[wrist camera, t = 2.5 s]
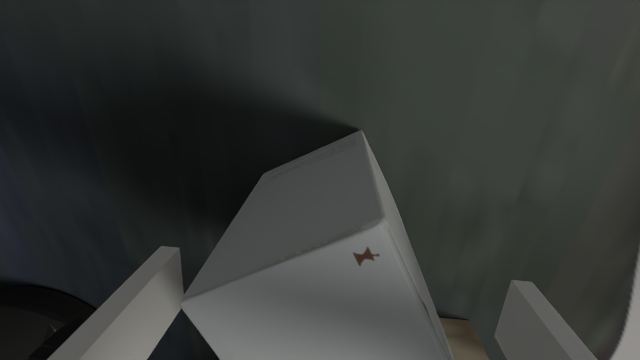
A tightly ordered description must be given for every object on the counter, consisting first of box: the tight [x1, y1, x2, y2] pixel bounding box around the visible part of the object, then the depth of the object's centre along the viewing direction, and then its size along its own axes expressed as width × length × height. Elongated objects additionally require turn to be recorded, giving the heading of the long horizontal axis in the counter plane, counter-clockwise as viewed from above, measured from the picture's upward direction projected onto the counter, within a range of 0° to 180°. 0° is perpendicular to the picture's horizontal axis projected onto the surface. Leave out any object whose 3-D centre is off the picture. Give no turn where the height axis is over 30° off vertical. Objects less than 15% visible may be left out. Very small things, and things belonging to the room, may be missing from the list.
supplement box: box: [179, 130, 454, 360], centre depth 17 cm, size 7×7×13 cm
